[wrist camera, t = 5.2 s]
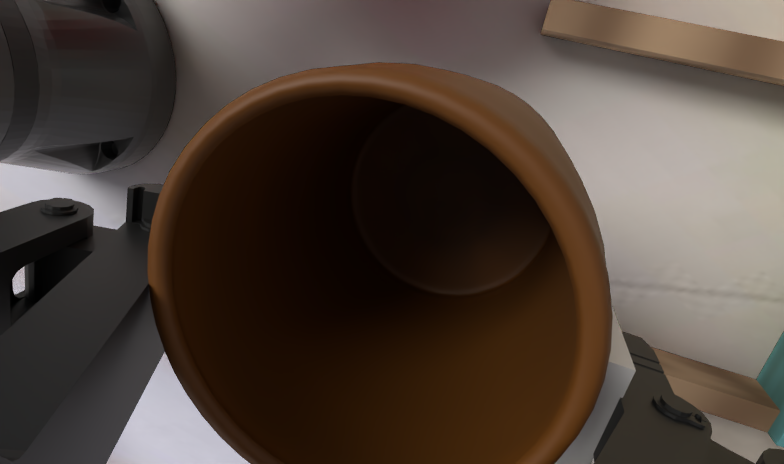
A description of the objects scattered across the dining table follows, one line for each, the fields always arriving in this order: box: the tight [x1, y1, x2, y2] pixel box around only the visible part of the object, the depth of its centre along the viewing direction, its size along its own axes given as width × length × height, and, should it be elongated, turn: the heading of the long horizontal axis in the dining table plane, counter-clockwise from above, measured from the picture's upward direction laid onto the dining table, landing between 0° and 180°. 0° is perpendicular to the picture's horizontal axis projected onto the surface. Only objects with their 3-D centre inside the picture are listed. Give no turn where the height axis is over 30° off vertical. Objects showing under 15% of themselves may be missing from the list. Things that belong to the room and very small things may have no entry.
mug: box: [148, 62, 613, 464], centre depth 12 cm, size 12×8×9 cm, turn 16°
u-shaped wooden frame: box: [541, 0, 784, 447], centre depth 26 cm, size 20×19×4 cm
